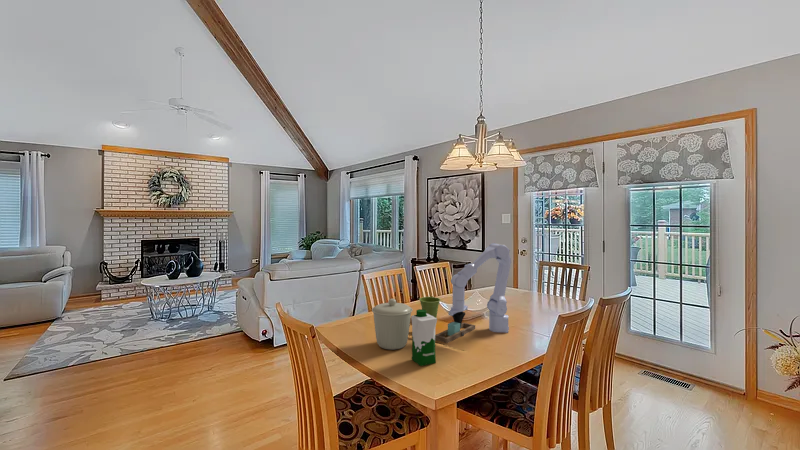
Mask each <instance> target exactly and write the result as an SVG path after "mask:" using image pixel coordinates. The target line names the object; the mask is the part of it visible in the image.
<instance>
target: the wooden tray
mask: <svg viewBox="0 0 800 450" xmlns="http://www.w3.org/2000/svg"><path fill="white" fill-rule="evenodd" d="M474 330H476V324H473V323H472V324H471V323H467V322H462V324H461V327H460V331H459V332H457V333H455V334H453V335H451V336H448V328H447V329H446V330H443V331H441V332H438V333H435V344H436V343H437V344H441V345H444V346H446V344H448V343H451V342H453V341H454V340H455V341H456V339H459V338H460V337H464V335H467V334H468V333H471V332H472V331H474ZM446 336H447V337H446Z"/></svg>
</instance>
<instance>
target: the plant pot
mask: <svg viewBox="0 0 800 450" xmlns="http://www.w3.org/2000/svg"><path fill="white" fill-rule="evenodd" d="M441 300H442V299H441V298H439V297H436V296H435V297H434V296H422V297H419V298H418V301H419V302H420V307H421V309H423V310H426V314H429V315H431V316H434V317H435V318H437V316H438V312H439V305H440V301H441Z"/></svg>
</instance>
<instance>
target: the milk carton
mask: <svg viewBox="0 0 800 450" xmlns="http://www.w3.org/2000/svg"><path fill="white" fill-rule="evenodd" d="M415 313H416V314H414V315H411V318H410V320H411V326H412V327H411V328H412V330H411V332H412V334H411V336H412V337H411V344H412V345H411V351H412V352H411V360H412V361H413V362H414V363H416V364H417V365H418V366H420V367H423V366H428V365H432V364H437V363H436V362H437V360H436V359H437V358H436V356H437V355H436V340H435V335H436V327H437V321H438V318H437V317H436V318H435V317H434V316H431V315H429V314H426V310H423V309H422V308H420V309H416V311H415Z"/></svg>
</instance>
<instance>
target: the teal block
mask: <svg viewBox="0 0 800 450" xmlns="http://www.w3.org/2000/svg"><path fill="white" fill-rule="evenodd" d="M447 329H448V336H447V337H449V336H451V335H453V334H455V333H457V332H459V331H461V329H460V323H458V322H454V321H451V322H449V323H447Z"/></svg>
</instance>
